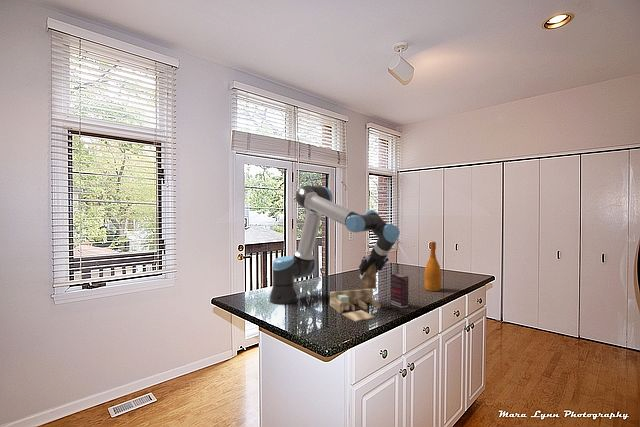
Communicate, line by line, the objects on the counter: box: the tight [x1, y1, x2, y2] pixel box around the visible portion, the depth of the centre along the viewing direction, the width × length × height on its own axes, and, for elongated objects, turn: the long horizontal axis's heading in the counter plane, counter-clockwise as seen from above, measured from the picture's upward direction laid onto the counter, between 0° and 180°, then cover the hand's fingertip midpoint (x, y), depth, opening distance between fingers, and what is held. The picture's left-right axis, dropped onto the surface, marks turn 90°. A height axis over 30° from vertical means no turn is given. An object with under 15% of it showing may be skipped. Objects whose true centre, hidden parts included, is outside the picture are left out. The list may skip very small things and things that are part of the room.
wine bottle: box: [423, 241, 442, 292], centre depth 211 cm, size 10×10×30 cm
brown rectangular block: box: [360, 258, 377, 290], centre depth 176 cm, size 4×8×14 cm, turn 18°
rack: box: [329, 288, 381, 314], centre depth 174 cm, size 24×14×7 cm, turn 108°
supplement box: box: [390, 273, 409, 309], centre depth 177 cm, size 9×5×16 cm, turn 29°
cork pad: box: [341, 309, 376, 322], centre depth 160 cm, size 11×11×1 cm
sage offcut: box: [338, 295, 349, 303], centre depth 172 cm, size 4×5×3 cm
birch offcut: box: [343, 303, 350, 312], centre depth 172 cm, size 4×7×4 cm, turn 16°
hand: (365, 277), depth 180 cm, fingers closed on brown rectangular block, 4 cm apart
